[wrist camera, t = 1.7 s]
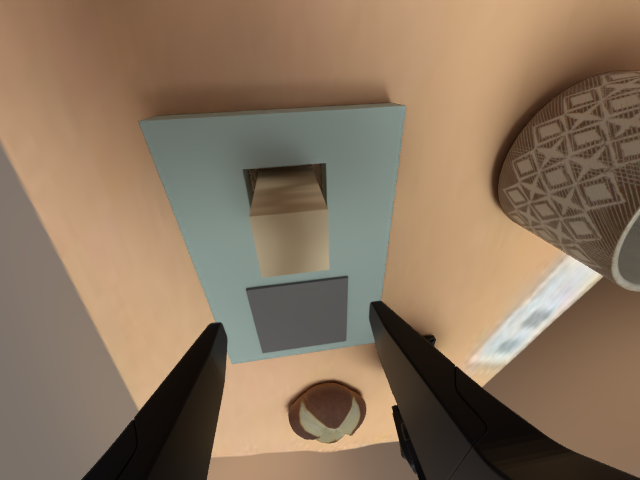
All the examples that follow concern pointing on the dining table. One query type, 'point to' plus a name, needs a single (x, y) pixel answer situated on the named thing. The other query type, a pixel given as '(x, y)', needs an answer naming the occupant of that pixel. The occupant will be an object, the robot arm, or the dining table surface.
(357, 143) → the pocket board
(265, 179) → the maple block
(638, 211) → the planter
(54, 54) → the dining table surface
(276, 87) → the dining table surface
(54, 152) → the dining table surface
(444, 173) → the dining table surface
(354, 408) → the bread
